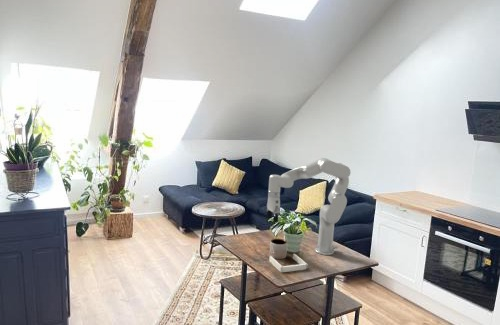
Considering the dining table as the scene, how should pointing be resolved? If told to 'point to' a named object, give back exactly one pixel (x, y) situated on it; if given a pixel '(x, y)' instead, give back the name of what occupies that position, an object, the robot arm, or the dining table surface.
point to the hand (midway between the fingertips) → (272, 219)
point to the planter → (278, 248)
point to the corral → (301, 265)
